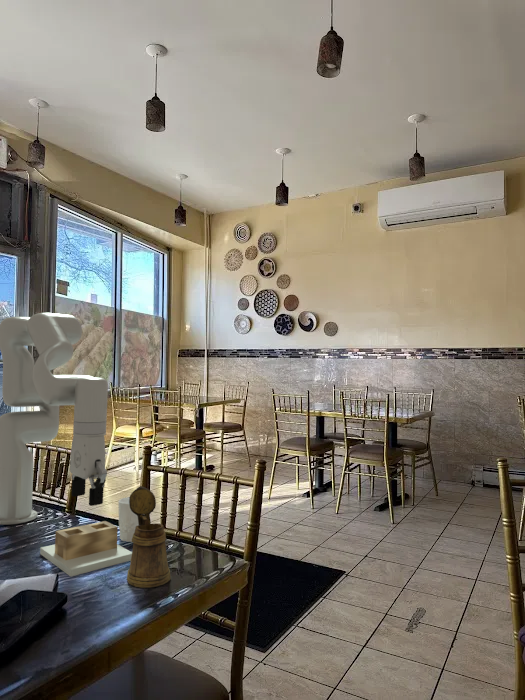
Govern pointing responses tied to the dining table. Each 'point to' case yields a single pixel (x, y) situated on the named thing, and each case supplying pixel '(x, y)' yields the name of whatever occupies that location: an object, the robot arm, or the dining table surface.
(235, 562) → the dining table surface
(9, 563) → the dining table surface
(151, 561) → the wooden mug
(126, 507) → the white cup
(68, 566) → the post board
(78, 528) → the tan hollow block
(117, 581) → the dining table surface
